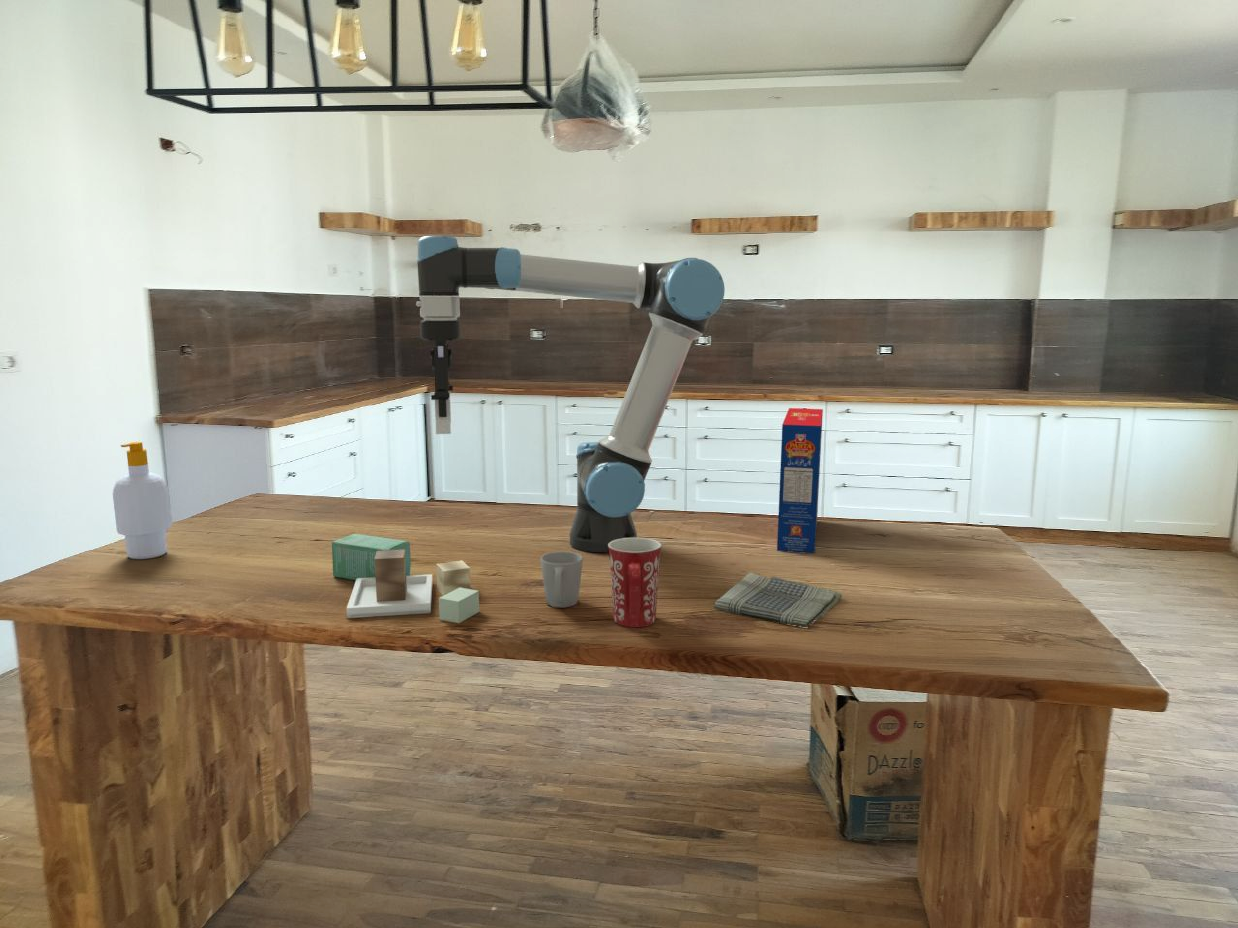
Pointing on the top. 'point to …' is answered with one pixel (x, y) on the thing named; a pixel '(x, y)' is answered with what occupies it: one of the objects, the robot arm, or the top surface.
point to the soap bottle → (142, 507)
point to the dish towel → (778, 600)
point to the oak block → (452, 576)
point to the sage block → (459, 605)
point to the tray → (367, 605)
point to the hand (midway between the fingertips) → (443, 428)
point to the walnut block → (390, 575)
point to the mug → (634, 580)
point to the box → (363, 555)
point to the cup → (561, 578)
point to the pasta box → (799, 480)
